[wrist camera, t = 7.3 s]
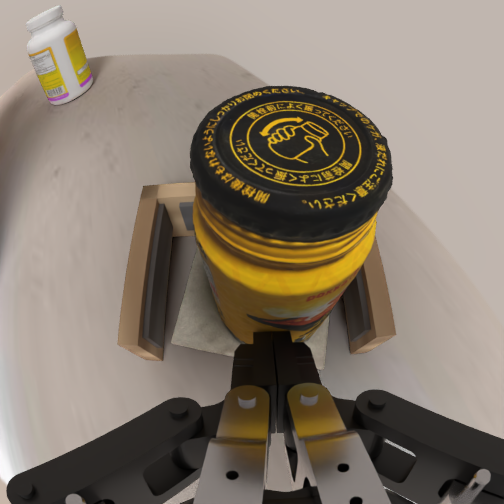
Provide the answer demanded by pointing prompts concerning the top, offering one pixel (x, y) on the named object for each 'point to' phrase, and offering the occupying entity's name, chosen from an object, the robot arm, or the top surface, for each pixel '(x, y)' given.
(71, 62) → the supplement bottle
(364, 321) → the light wood low tray
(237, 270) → the condiment
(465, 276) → the top surface
